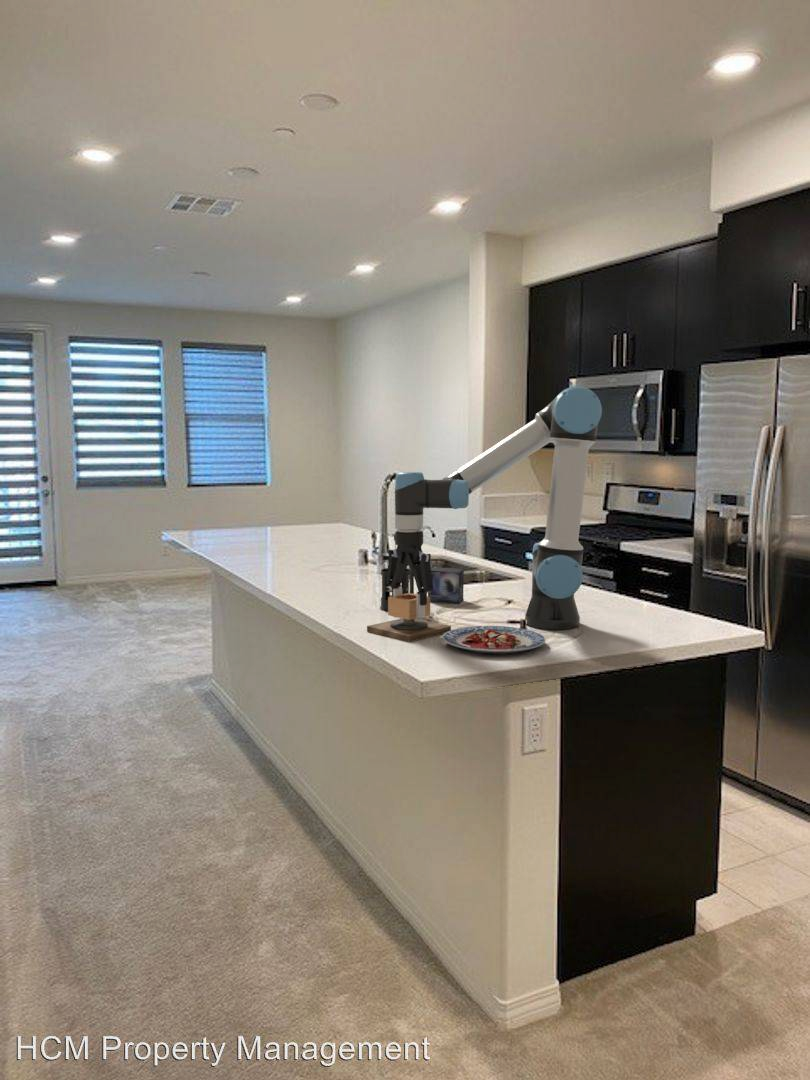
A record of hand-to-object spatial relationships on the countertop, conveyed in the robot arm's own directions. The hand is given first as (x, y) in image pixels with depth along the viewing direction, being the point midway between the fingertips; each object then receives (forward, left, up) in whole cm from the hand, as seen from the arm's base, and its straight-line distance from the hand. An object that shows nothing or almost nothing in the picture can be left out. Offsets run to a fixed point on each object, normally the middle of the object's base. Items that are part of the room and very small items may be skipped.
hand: (409, 614), depth 216 cm
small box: (+21, -38, -5) cm, 44 cm away
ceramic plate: (-25, -5, -5) cm, 26 cm away
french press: (+24, -19, -5) cm, 31 cm away
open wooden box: (0, 0, 0) cm, 0 cm away
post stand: (0, 0, -5) cm, 5 cm away
